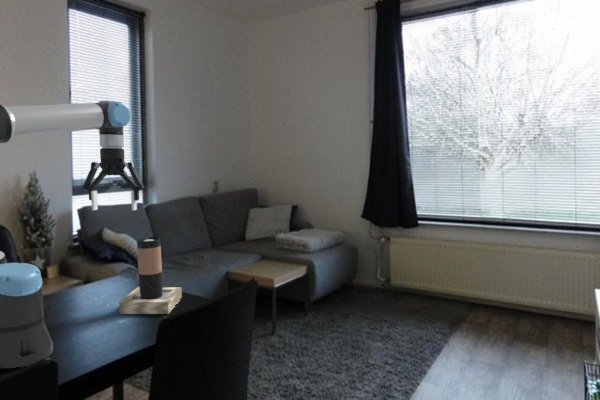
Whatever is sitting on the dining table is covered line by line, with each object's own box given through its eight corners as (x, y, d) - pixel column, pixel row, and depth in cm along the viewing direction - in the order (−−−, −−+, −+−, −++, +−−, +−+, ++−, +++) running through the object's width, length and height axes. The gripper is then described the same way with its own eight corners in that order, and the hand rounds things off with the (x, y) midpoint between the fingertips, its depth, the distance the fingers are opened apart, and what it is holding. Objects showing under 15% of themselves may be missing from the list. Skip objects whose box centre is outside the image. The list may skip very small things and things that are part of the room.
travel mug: (155, 300, 147) (152, 241, 145) (135, 299, 149) (131, 241, 146) (167, 293, 155) (164, 237, 152) (147, 292, 156) (144, 236, 154)
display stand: (119, 313, 144) (119, 301, 144) (137, 297, 160) (137, 287, 160) (168, 313, 144) (168, 302, 144) (181, 298, 160) (181, 287, 160)
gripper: (152, 148, 153) (154, 208, 155) (80, 147, 153) (83, 208, 156) (144, 147, 146) (147, 211, 148) (69, 147, 146) (72, 211, 148)
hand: (114, 210), depth 152 cm, fingers open, 13 cm apart
